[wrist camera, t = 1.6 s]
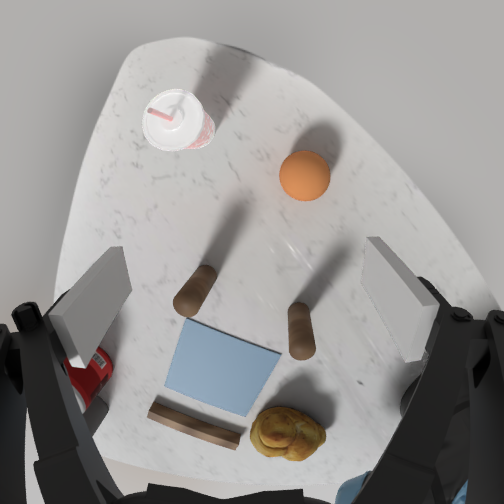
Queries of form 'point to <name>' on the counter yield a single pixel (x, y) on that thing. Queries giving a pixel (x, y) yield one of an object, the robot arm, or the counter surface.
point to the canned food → (89, 377)
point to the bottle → (95, 414)
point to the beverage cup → (177, 121)
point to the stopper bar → (193, 426)
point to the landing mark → (219, 368)
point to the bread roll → (286, 434)
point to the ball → (304, 175)
